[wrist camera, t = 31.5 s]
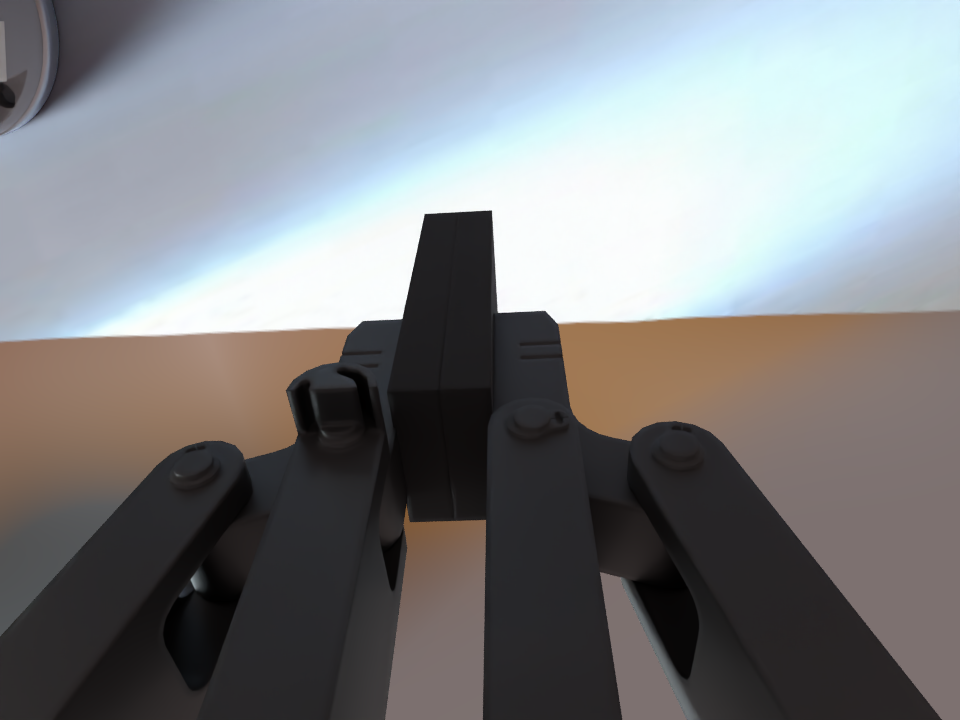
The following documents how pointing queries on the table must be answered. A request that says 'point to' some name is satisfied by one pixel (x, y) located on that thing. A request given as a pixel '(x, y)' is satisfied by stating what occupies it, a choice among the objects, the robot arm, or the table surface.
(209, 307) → the table surface
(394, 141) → the table surface
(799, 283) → the table surface
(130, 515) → the robot arm
